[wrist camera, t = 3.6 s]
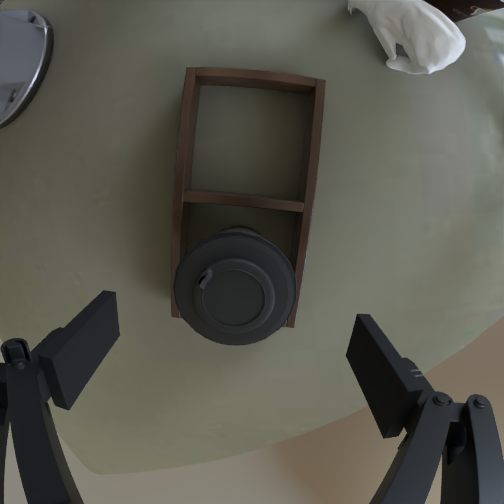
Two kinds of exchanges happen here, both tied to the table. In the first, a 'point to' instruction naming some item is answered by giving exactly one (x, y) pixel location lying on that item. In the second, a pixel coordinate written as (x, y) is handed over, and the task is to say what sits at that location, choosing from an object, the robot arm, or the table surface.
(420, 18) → the white lumpy figurine
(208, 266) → the coffee cup
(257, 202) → the frame
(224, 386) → the table surface
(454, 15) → the coffee mug
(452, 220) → the table surface
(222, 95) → the table surface
